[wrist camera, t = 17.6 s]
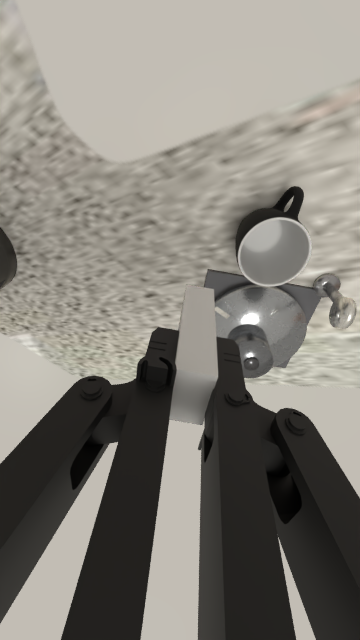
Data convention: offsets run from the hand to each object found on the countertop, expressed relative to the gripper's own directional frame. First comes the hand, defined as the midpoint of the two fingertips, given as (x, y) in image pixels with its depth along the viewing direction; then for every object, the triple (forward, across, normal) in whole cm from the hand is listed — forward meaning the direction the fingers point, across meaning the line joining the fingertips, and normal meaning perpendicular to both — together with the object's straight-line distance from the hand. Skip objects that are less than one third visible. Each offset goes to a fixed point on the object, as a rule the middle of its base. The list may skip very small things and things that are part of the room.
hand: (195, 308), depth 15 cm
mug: (+31, +10, -1) cm, 32 cm away
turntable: (+28, +13, -19) cm, 36 cm away
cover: (+27, +12, -20) cm, 36 cm away
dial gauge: (+30, +23, -9) cm, 39 cm away
